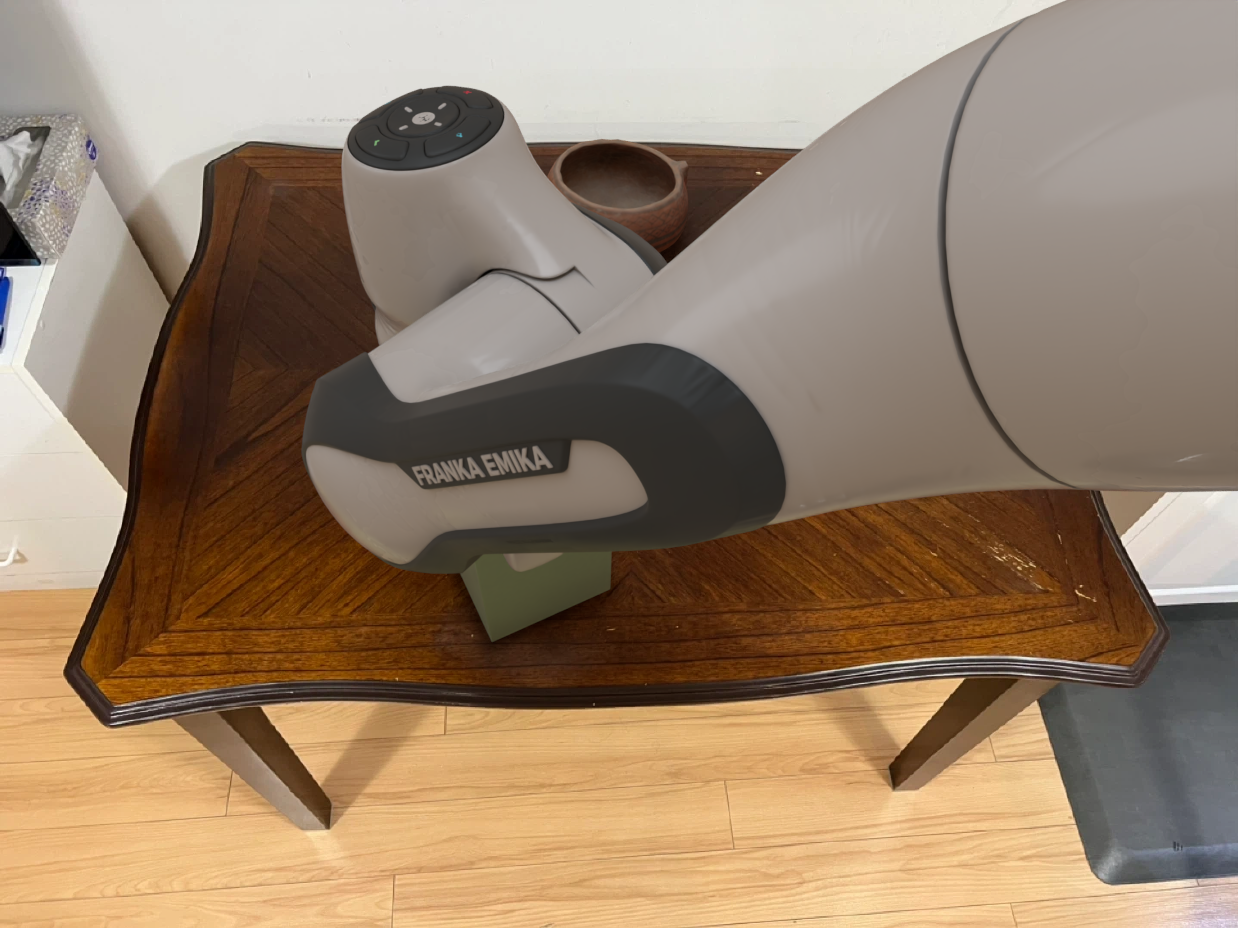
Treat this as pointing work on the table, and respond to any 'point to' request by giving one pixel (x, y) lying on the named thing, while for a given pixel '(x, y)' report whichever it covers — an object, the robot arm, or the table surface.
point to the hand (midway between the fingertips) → (485, 484)
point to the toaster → (533, 588)
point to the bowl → (626, 187)
